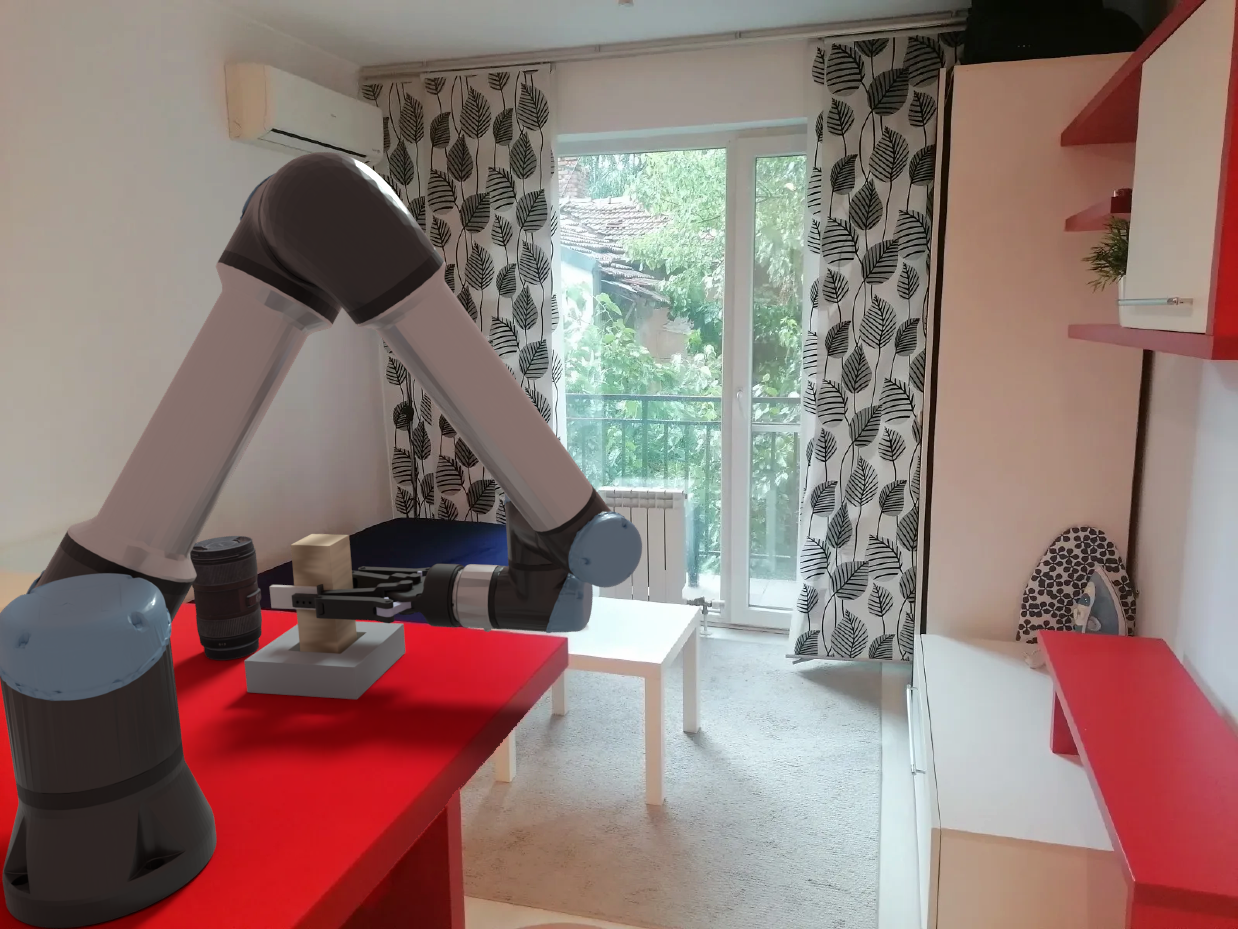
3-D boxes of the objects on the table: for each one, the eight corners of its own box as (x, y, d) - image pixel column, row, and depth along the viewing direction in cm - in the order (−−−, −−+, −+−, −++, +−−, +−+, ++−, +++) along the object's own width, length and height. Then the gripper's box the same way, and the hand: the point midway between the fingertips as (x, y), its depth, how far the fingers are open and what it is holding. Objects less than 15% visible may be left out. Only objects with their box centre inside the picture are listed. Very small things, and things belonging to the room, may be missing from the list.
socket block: (405, 652, 116) (403, 623, 115) (356, 699, 102) (354, 667, 102) (307, 647, 118) (305, 619, 118) (247, 692, 105) (244, 660, 104)
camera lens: (246, 634, 123) (236, 531, 121) (276, 648, 118) (266, 541, 115) (188, 652, 117) (176, 544, 114) (216, 668, 112) (204, 554, 109)
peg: (358, 656, 112) (349, 534, 109) (339, 672, 107) (329, 546, 104) (322, 654, 113) (311, 533, 110) (301, 670, 108) (290, 544, 105)
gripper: (437, 655, 97) (245, 645, 101) (488, 600, 115) (323, 593, 119) (433, 590, 96) (239, 582, 100) (485, 545, 113) (318, 540, 117)
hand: (285, 588), depth 109 cm, fingers closed on peg, 5 cm apart
